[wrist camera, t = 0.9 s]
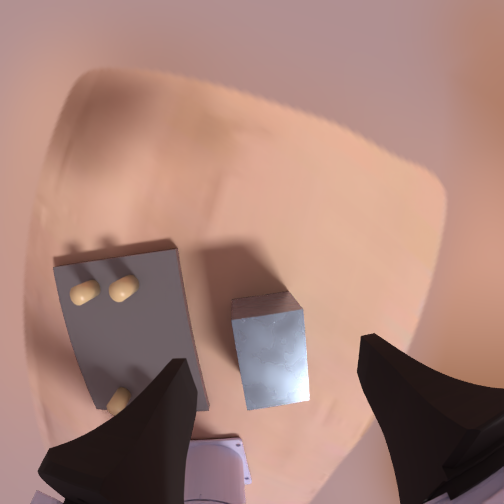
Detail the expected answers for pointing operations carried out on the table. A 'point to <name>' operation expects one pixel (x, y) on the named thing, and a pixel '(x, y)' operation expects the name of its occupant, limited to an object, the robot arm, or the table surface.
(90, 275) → the grey pegged base plate
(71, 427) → the table surface
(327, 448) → the table surface
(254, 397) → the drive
